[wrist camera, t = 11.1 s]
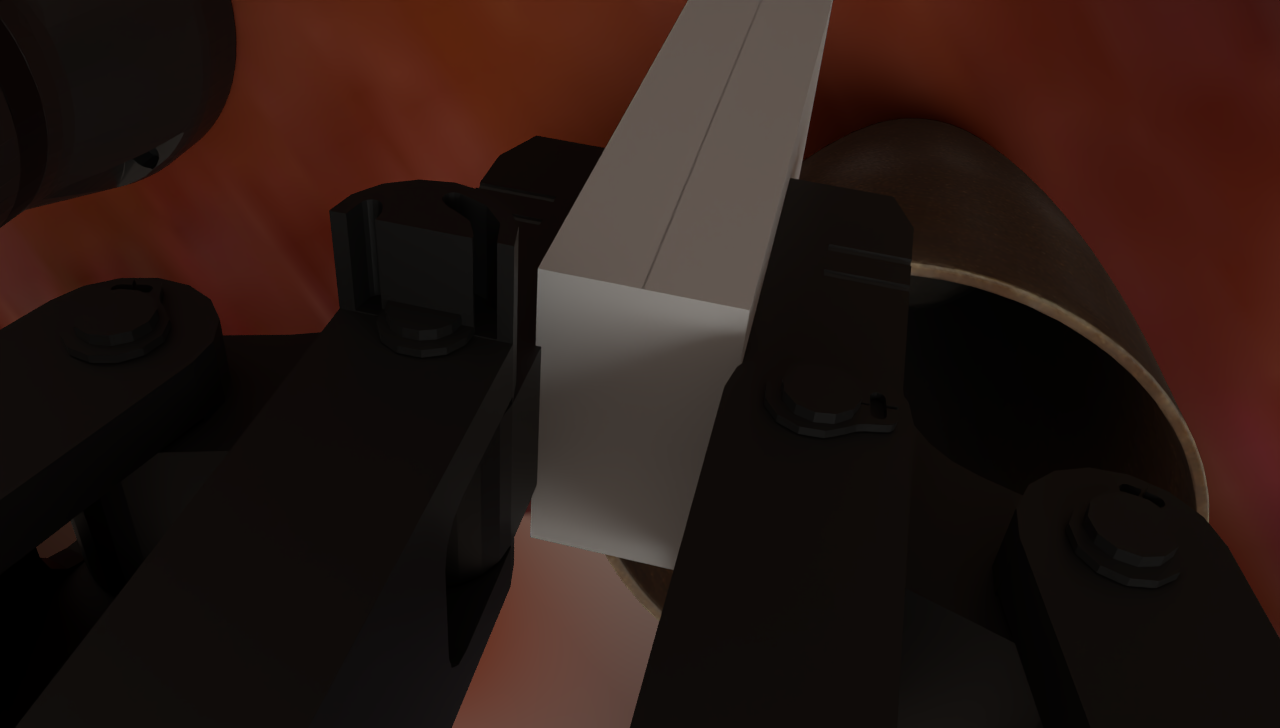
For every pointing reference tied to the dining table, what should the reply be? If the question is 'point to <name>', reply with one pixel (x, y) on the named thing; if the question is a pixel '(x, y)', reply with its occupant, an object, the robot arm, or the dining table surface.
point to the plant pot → (1004, 327)
